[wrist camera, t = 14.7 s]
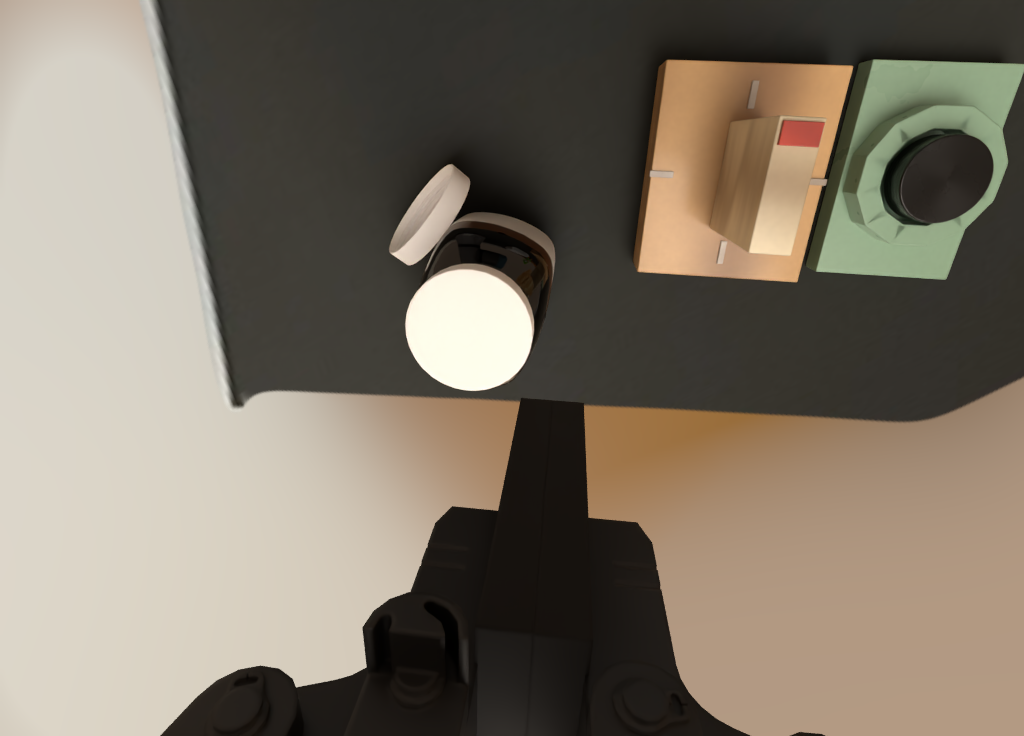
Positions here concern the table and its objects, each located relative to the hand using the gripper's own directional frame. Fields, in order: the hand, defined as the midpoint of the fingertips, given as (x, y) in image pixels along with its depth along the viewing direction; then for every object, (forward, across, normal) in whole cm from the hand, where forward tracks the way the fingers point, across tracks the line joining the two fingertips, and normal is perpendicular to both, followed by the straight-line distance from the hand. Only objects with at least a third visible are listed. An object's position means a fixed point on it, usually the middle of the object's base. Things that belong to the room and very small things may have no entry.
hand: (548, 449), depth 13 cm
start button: (+23, -20, -6) cm, 31 cm away
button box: (+26, -20, -6) cm, 34 cm away
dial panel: (+26, -10, -5) cm, 29 cm away
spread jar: (+27, +6, +1) cm, 27 cm away
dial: (+23, -10, -5) cm, 26 cm away
